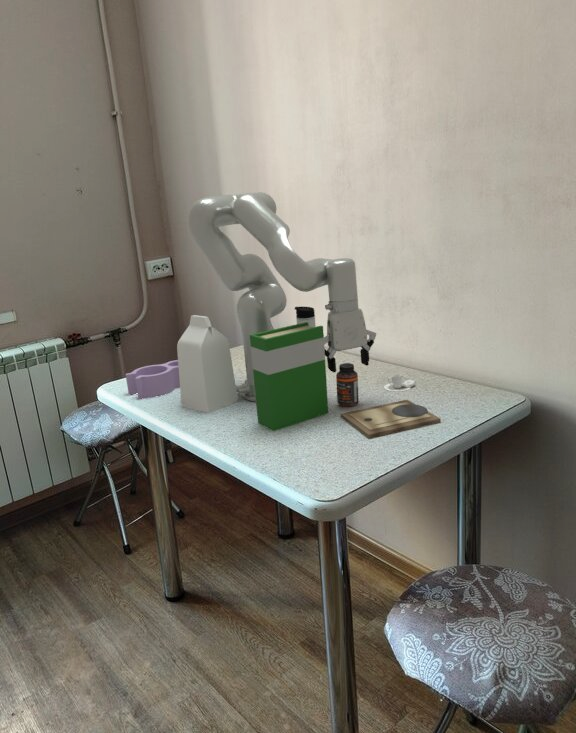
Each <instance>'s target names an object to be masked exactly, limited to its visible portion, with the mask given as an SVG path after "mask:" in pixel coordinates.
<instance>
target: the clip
mask: <svg viewBox="0 0 576 733" xmlns="http://www.w3.org/2000/svg"><path fill="white" fill-rule="evenodd" d="M125 380H126V385H127V386H126V387H127V392H128V395H129V394H136V393H138V394H136V395H137V397H138V398H139V399H138V400H143V399H145V398H144V397H149V398H156V396H158V397H161V395H162V396H164V395H165V394H166V395H168V394H170V392H171V393H173V392H174V391H175V390H176V389H180V379H179V366H178V359H176V360H170V361H168V362H167V361H166V362H164V363H161V364H151V365H145V366H142V367H139V368H136V369H134V370H133V371H132V372H129V373H125ZM142 398H143V399H142Z"/></svg>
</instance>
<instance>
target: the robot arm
mask: <svg viewBox="0 0 576 733" xmlns="http://www.w3.org/2000/svg"><path fill="white" fill-rule="evenodd" d="M187 218H188V219H187V220H188V222H187V224H188V229H189V232H190V235H191V237H192V238H193V240H194V242H195V243H196V245H197V247H199V249H200V250H201V251H202V253H203V254H204V255H205V257H206V259H207V260H208V261H209V264H210V265H211V266H212V268H213V269H214V272H216V274H217V275H218V277H219V279H220V280H221V281H222V284H223V285H224V287H226V288H227V289H228V290H229V291H233V292H239V291H242V290H245V289H249V290H248V291H246V292H244V293H243V294H242V295H241V296H240V297H238V298H239V299H238V300H237V303H236V315H237V318H238V322H239V325H240V330H241V337H242V344H243V354H244V364H245V373H246V374H245V375H246V379H245V380H243V381H244V383H242V384H241V385H236V391H237V394H239V395H241V394H242V395H243V398H244V399H245V400H248V401H251V402H256V395H255V385H254V375H253V364H252V354H251V344H250V335H252V334H256V333H260V332H265V331H269V330H274V326H273V324H272V321H271V318H273V317H275V316H278V315H279V314H282V312H283V311H284V310H285V309H286V306H287V303H288V302H287V301H288V300H287V296H286V293H285V290H284V288H283V287H282V285H281V284H280V283H279V280H278V279H277V277H276V276H275V274H273V272H272V270H271V269H270V267H269V265H268V264H267V263H266V261H265V260H264V259H263V258H261V257H260V256H259V255H257V254H253V253H246V254H241V253H240V252H239V250H238V249H237V248H236V246H235V244H234V242H233V241H232V240H231V238H229V237H228V235H227V234H225V233H224V232H223V231H221V229H220V227H224V226H225V227H226V226H231V225H241V226H242V228H244V229H245V230H246V231H247V232H248V233H249V234H250V235H251V236H252V237H253V238H254V239H256V240H257V242H259V243H260V244H261V245H262V246H263V248H265V250H266V251H267V253H268V257H269V259H270V261H271V264H272V265H273V267H274V269H275V271H276V272H277V273H278V274H279V275H280V276H281V277H282V278H283V279H284V280H285V281H286V282H287V283H288V284H289V285H291V286H292V287H293V288H294V289H295V290H298V291H300V292H305V293H307V292H312V291H314V290H316V289H318V288H321V287H325V286H327V289H328V291H327V292H328V304H325V305H324V309H325V310H326V311H329V312H328V313H327V320H326V321H327V322H326V335H325V336H324V346H325V345H326V344H327V346H328V348H327V350H326V348H325V347H324V350H325V358H326V359H327V360H326V361H327V368H328V370H329V371H330V372H332V373H336V372H337V362H336V358H335V357H334V356H335V355H336V353H337V351H338V352H340V351H348V350H351V349H352V350H353V349H357V348H360V351H359V352H360V362H361V364H362V365H364V366H366V367H368V366H369V362H370V350H371V348H372V346H373V345H374V343H375V340H376V338H377V333H376V332H374V331H372V330H369V329H367V326H366V321H365V320H366V319H365V316H364V313H363V309H362V308H360V307H359V296H358V285H357V283H358V282H357V272H356V271H357V268H356V263H355V261H354V260H353V259H352V258H348V257H347V258H335V259H330V258H319V257H318V258H314V259H311V260H306V261H305V260H304V259H303V258H302V257H301V256H300V255H299V254H297V252H295V250H294V249H293V248H292V246H291V244H290V242H289V236H290V232H291V229H290V227H289V225H288V224H287V223H286V222H284V221H283V219H282V218H280V216H278V215H277V204H276V201H275V199H274V198H273V197H272V196H271V195H270V194H268V193H266V192H262V191H261V192H249V193H240V194H238V193H237V194H226V195H223V194H222V195H214V196H213V195H212V196H206V197H202V198H200V199H198V200H197V201H195V202H194V203H193V204H192V205H191V208H190V209H189V213H188V217H187ZM368 336H369V337H368Z"/></svg>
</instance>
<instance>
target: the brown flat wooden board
mask: <svg viewBox="0 0 576 733" xmlns="http://www.w3.org/2000/svg"><path fill="white" fill-rule="evenodd" d="M340 418H341V419H343V420H344V422H346V423H347V424H349V425H351V427H353V428H354V429H356V430H357V431H358V432H360V433H361V434H362V435H364V437H366V438H368V439H372V438H376V437H377V438H378V437H381V436H386V435H390V434H395V433H400V432H403V431H408V430H412V429H416V428H421V427H425V426H430V425H434V424H438V423H439V424H440V423H441V421H442V420H441V419H442V418H441V417H438V416H437V415H435V414H434V413H432V412H430V411H428V409H427V407H425V406H424V405H420V404H416V403H415V402H412V401H410V400H409V399H403V400H399V401H394V402H391V403H384V404H380V405H374V406H371V407H365V408H361V409H356V410H350V411H346V412H342V413H340Z"/></svg>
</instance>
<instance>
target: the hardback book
mask: <svg viewBox="0 0 576 733" xmlns="http://www.w3.org/2000/svg"><path fill="white" fill-rule="evenodd" d="M324 334H325V333H324V325H317V326H316V327H311V326H309V324H308V322H305V323H300V324H297V323H296V324H293V325H288V326H282V327H278V328H275V329H274V330H269V331H265V332H260V333H256V334H252V335H250V344H251V354H252V364H253V375H254V385H255V395H256V401H255V405H256V415H257V424H259V425H261V426H262V427H265V428H267V429H268V430H271V431H272V432H274V431H278V430H281V429H284V428H287V427H289V426H293V425H296V424H299V423H302V422H306V421H308V420H311V419H314V418H318V417H320V416H323V415H326V414H329V401H328V388H327V386H328V384H327V370H326V356H325V350H324V348H325V345H324V337H325V336H324Z"/></svg>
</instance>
